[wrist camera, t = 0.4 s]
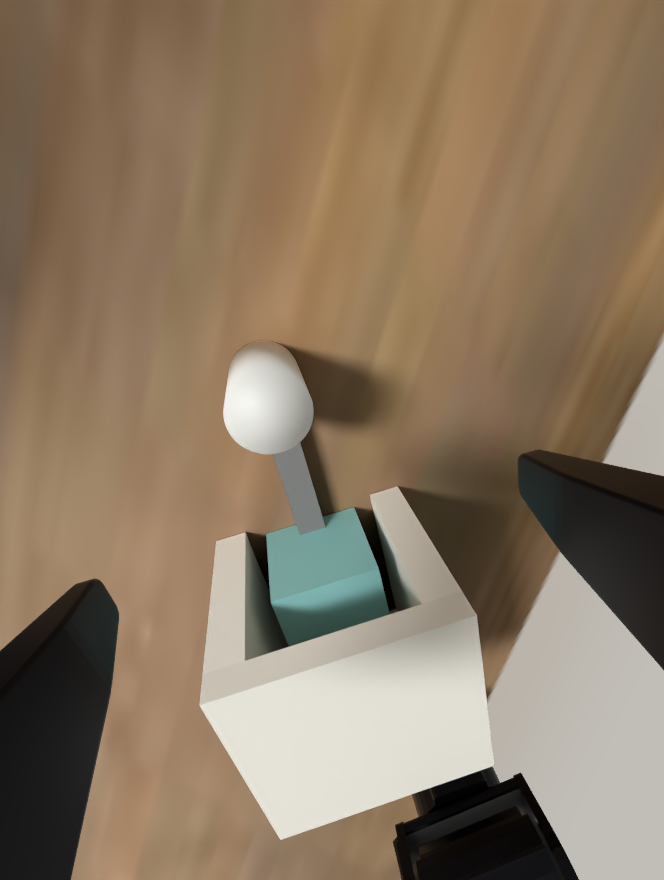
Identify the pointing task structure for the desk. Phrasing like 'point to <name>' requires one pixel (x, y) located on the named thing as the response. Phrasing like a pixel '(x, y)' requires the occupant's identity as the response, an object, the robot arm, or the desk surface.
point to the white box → (347, 686)
